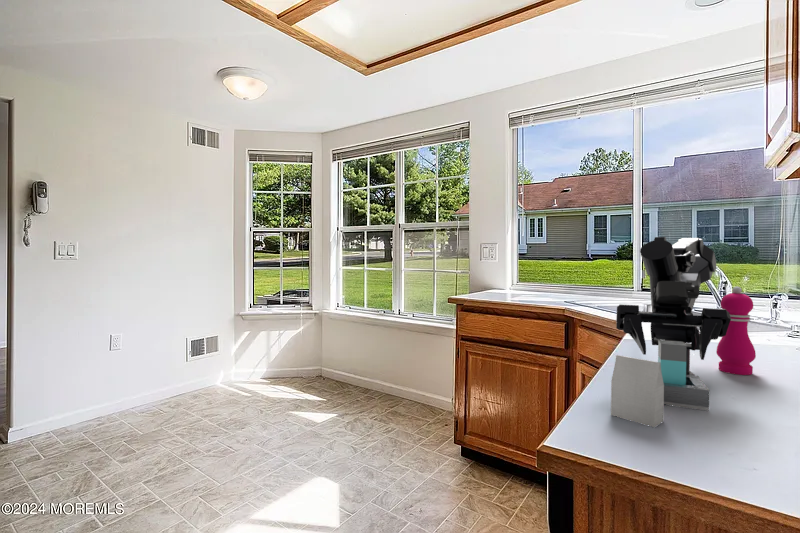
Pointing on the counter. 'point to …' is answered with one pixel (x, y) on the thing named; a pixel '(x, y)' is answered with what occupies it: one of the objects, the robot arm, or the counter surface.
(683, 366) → the plug
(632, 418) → the tea packet
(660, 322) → the robot arm
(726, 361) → the pepper mill
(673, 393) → the block
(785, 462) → the counter surface
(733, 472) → the counter surface
